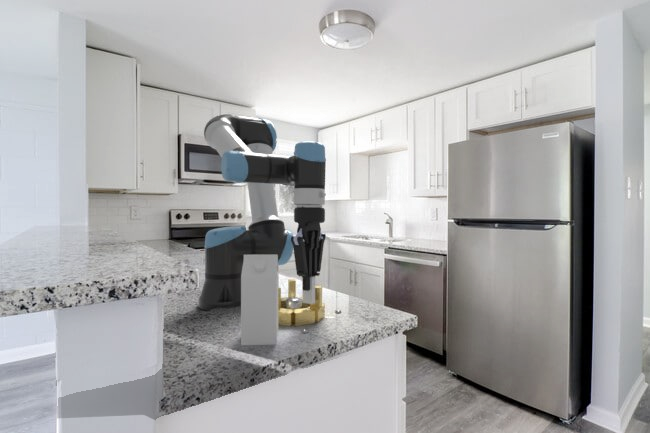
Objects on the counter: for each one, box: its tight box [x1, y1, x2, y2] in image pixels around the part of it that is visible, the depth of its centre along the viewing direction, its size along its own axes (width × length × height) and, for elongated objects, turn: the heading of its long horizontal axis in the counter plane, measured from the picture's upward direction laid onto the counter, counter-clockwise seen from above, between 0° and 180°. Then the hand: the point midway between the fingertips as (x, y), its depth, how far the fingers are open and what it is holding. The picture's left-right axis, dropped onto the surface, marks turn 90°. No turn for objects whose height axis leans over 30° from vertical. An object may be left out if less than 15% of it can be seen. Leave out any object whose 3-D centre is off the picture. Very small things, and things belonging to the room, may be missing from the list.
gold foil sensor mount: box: [278, 278, 326, 327], centre depth 88 cm, size 15×15×8 cm
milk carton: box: [240, 255, 279, 346], centre depth 72 cm, size 7×7×19 cm
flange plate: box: [286, 296, 342, 334], centre depth 88 cm, size 20×20×6 cm
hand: (308, 302), depth 84 cm, fingers closed
